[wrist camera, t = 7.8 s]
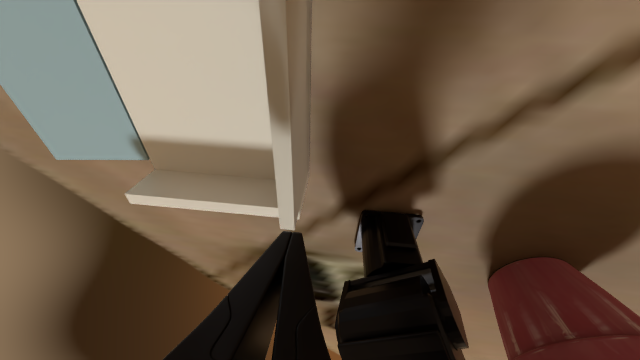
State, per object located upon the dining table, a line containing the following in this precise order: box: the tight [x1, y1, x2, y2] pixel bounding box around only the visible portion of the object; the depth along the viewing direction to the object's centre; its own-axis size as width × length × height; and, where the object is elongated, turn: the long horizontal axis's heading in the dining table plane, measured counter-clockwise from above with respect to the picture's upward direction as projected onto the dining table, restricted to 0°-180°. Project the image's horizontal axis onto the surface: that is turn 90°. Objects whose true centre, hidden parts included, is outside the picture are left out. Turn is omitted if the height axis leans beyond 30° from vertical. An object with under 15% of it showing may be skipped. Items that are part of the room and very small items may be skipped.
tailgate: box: [0, 0, 150, 160], centre depth 16 cm, size 16×2×8 cm
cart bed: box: [77, 0, 312, 230], centre depth 14 cm, size 20×14×8 cm
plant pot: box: [488, 257, 640, 360], centre depth 24 cm, size 14×14×13 cm
